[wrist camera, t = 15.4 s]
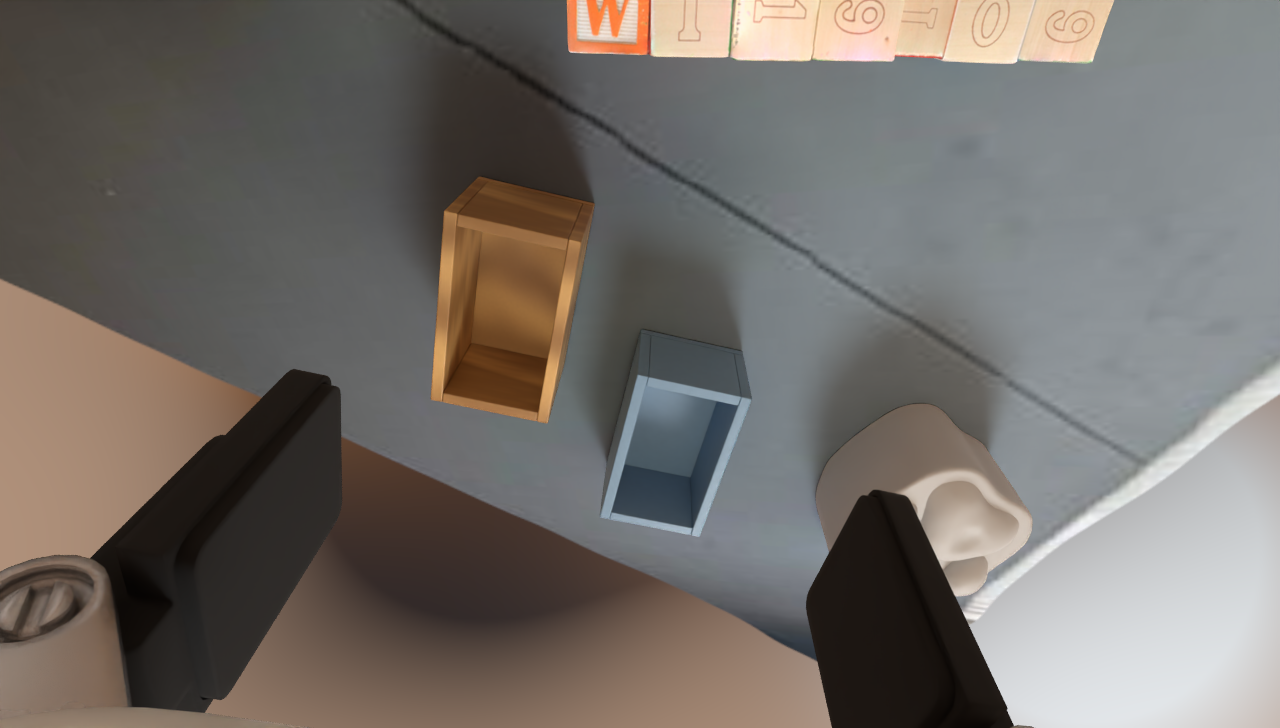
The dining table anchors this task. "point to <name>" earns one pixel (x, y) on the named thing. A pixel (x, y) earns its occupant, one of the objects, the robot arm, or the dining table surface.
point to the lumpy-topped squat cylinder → (930, 490)
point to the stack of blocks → (842, 29)
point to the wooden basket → (507, 297)
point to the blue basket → (674, 433)
